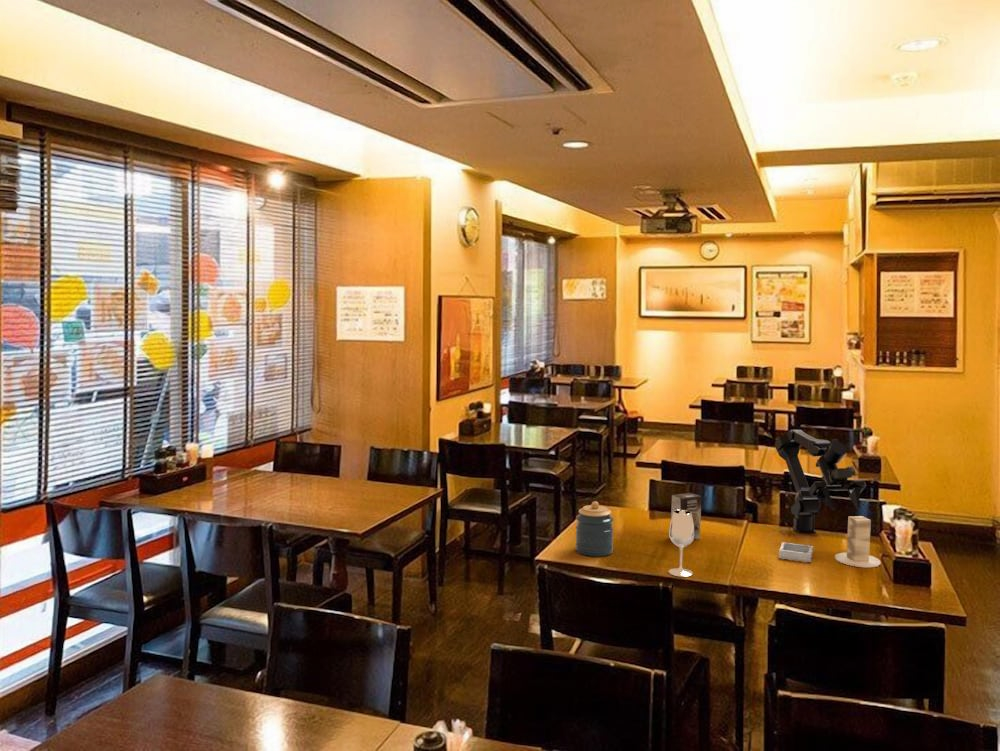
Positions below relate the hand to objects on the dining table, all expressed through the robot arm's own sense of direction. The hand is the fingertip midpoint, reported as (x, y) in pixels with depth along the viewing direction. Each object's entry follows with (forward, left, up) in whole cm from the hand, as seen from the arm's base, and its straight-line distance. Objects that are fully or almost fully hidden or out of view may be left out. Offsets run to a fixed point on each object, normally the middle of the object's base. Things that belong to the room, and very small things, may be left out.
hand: (846, 509), depth 274 cm
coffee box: (+50, -19, -16) cm, 56 cm away
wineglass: (+62, +18, -16) cm, 67 cm away
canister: (+86, -5, -16) cm, 88 cm away
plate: (-1, +8, -16) cm, 18 cm away
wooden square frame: (+18, +3, -16) cm, 24 cm away
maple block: (-1, +8, -15) cm, 17 cm away
